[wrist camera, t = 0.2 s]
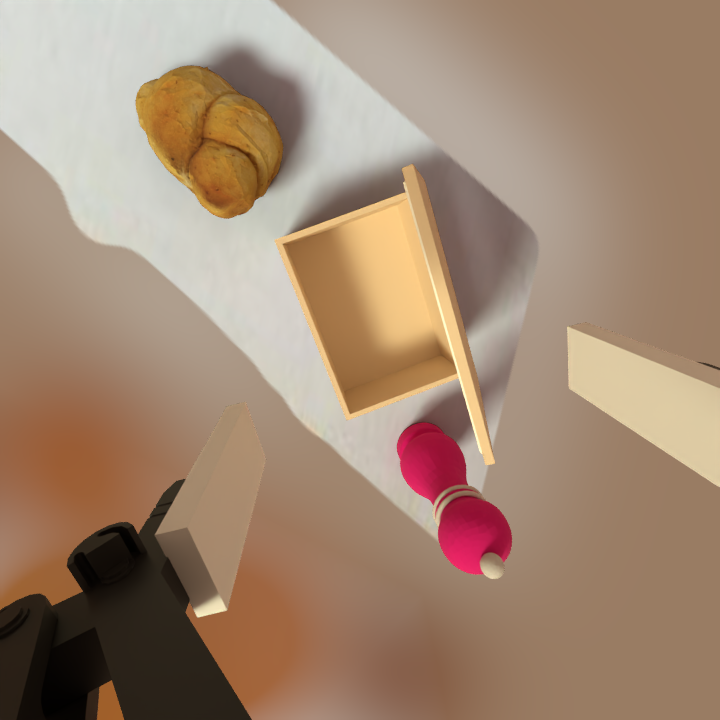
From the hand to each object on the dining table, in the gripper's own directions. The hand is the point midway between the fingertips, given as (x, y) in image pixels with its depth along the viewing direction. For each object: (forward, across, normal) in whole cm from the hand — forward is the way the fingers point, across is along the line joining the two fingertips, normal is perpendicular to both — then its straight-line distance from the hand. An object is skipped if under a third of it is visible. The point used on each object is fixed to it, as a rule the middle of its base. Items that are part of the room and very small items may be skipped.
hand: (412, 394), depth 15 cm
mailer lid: (+14, +5, 0) cm, 15 cm away
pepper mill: (+27, +4, -20) cm, 34 cm away
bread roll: (+28, -10, +16) cm, 34 cm away
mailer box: (+27, +1, -2) cm, 27 cm away
